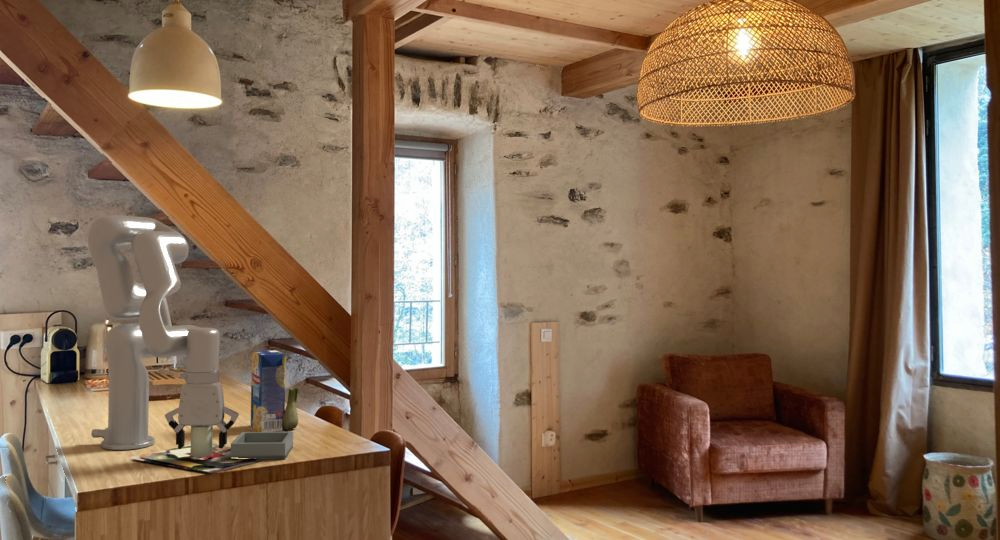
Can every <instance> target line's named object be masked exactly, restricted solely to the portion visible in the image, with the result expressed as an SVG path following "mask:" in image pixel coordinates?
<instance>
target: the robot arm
mask: <svg viewBox="0 0 1000 540" xmlns="http://www.w3.org/2000/svg"><path fill="white" fill-rule="evenodd" d="M91 223H92V224H91V225H90V227H89V229H88V233H87V247H88V251H89V254H90V257H91V259H92V262H93V264H94V267H95V270H96V273H97V277H98V284H99V288H100V294H101V299H102V304H103V307H104V311H105V313H106V316H108V318H110V319H113V320H119V321H121V320H123V321H124V320H138V322H133V323H123V324H118V325H115V326H113V327H112V328H110V329H109V330H108V331H107V333H106V335H105V338H104V350H105V353H106V358H107V359H106V360H107V366H108V368H107V370H108V402H107V403H108V406H107V407H108V408H107V409H108V410H107V411H108V412H107V416H108V417H107V427H106V428H104V429H99V428H93V429H91V437H92V438H93V439H95V438H96V439H97V438H99V439H100V438H101V439H103V440H102V441H101V442H100V443H101V444H100V447H101V448H103V449H104V450H105V449H106V450H112V451H113V450H114V451H124V450H126V451H128V450H135V449H142V448H146V447H150V446H152V445H154V443H155V437H153V436H152V435H149V405H150V401H149V399H150V392H149V391H150V376H149V372H148V369H147V368H146V366H145V364H144V362H143V360H145V359H152V358H159V359H160V358H171V357H181V356H186V365H185V367H186V371H185V372H181V373H180V375H179V378H180V379H181V380H184V381H185V383H183V384H181V385H182V386H181V390H180V396H179V403H178V407H177V408H174V409H172V410H170V411H168V412H166V413H165V414H164V417H165V419H166V421H167V423H168V426H169V427H170V428H171V429H172V430H173V431H174V432H175V444H176V446H177V449H178V450H181V449H182V448H183V447H185V442H186V441H185V438H186V437H185V436H186V434H185V432H186V431H185V429H184V428H185V427H187V426H188V427H191V426H216V427H217V428H218V429H219V430H220V431H219V433H218V449H220V450H222V449H223V448H225V445H227V444H228V430H229V429H231V427H232V426H234V424H235V423H236V421H237V419H238V417H239V415H240V414H239V412H237V411H235V410H233V409H231V408H229V407H227V406H225V399H224V398H225V397H224V390H223V385H222V382H220V378H219V377H220V335H221V334H220V331H219V329H217V328H214V327H202V326H201V327H200V326H198V325H193V324H181V325H173V324H172V319H171V315H170V309H169V304H168V300H167V297H170V296H171V295H173V294H175V293H176V292H178V291H179V289H180V288H181V285H182V281H181V280H180V277H179V274H178V270H177V268H176V265H175V264H181V263H183V262H185V260H186V259H187V258H188V256H189V252H190V251H189V250H190V249H189V243H188V242H187V239H186V238H185V237H184V235H182V234H181V233H180V232H179V231H177V230H176V229H173V227H170V226H169V225H166V224H164V223H163V222H161V221H159V220H157V219H155V218H151V217H147V216H135V215H132V216H131V215H122V214H118V215H117V214H111V215H110V214H109V215H107V214H106V215H103V216H100V217H97V218H96V219H95V220H94V221H92V222H91ZM121 248H122V249H123V248H125V249H131V251H132V254H133V258H134V260H135V263H136V267H137V269H138V273H139V275H140V279H141V282H142V283H141V282H137V280H136V278H135V272H134V268H133V266H132V263H131V261H130V260H129V258H128V257H127V256H126V255H125V254H124V253H123V252H122V251H121ZM177 414H178V415H177ZM175 415H177V416H178V417H177V421H178V422H177V421H176V420H175V419H174V416H175ZM225 415H227V416H229V417H230V418H229V421H228V422H227V423H226V421H225V420H224V419H225Z"/></svg>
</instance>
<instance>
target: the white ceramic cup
mask: <svg viewBox="0 0 1000 540" xmlns="http://www.w3.org/2000/svg"><path fill="white" fill-rule="evenodd" d="M213 426H214V425H213ZM213 426H190V454H189V455H191V456H193V457H206V456H210V455H212V456H213V432H214V431H213V430H214V429H213Z"/></svg>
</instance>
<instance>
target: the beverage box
mask: <svg viewBox="0 0 1000 540" xmlns="http://www.w3.org/2000/svg"><path fill="white" fill-rule="evenodd" d="M250 378H251V384H250V385H251V387H250V389H251V391H250V394H251V395H250V427H252V428H253V429H254V430H255V431H256V432H285V429H284V428H282V426H281V424H282V419H283V415H284V412H285V409H286V353H284V352H281V351H278V350H276V349H274V350H251V377H250Z"/></svg>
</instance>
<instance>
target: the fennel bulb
mask: <svg viewBox="0 0 1000 540" xmlns="http://www.w3.org/2000/svg"><path fill="white" fill-rule="evenodd" d="M299 389H300V388H299V387H291V388H289V389H288V394H287V395H288V396H287V403H286V405H285V412H284V415H283V419H282V424H281V426H282V428H284V430H292V429H295V428H297V426H298V425H299V414H298V411H297V402H298V401H297V399H298V393H299Z"/></svg>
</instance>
